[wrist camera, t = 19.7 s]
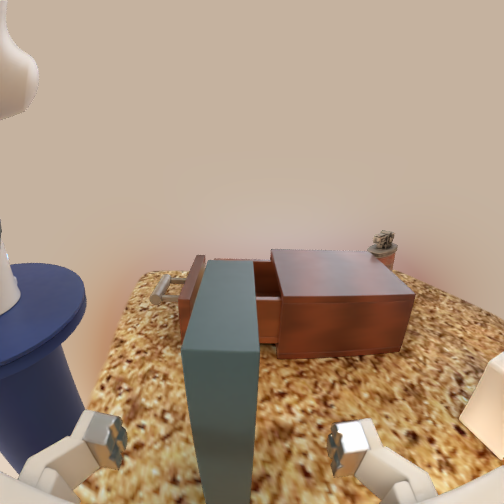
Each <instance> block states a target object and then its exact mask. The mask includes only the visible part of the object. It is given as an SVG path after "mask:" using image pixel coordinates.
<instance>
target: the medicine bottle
mask: <svg viewBox="0 0 504 504" xmlns="http://www.w3.org/2000/svg"><path fill="white" fill-rule="evenodd" d="M459 420H460V421H461V422H462V423H463V424H464V425H465V426H466V427H467V428H468V429H469V430H470V431H471V432H472V433H473V434H474V435H475V436H476V437H477V438H478V439H479V440H481V441H482V442H483V443H484V444H485V445H486V446H487V447H488V448H489V449H490V450H491V451H492V452H493V453H494V454H495V455H496V456H497V457H498V458H499V459H500V460H504V351H503V352H502V353H501V354H499V355H498V356H496V357H495V358H493V359H492V360H490V361H489V362H488V364H487V366H486V369H485V371H484V373H483V375H482V377H481V379H480V381H479V383H478V385H477V387H476V388H475V390H474V392H473V394H472V396H471V398H470V400H469V401H468V403H467V405H466V407H465V408H464V410H463V412H462V414H461V415H460V417H459Z"/></svg>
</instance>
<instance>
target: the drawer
mask: <svg viewBox="0 0 504 504" xmlns="http://www.w3.org/2000/svg"><path fill="white" fill-rule="evenodd" d="M214 260H229V261H253V267H254V280H255V293H256V306H257V319H258V331H259V343H278V340H279V328H280V317H281V305H282V298H281V294H280V290H279V286H278V282H277V277H276V273H275V269H274V265H273V261H272V260H256V259H214ZM204 271H205V255H197V256H196V258H195V260H194V262H193V265H192V267H191V269H190V272H189V274H188V276H187V278H171V276H170V275H168V274H165V275H163V276H162V278H161V279H160V281H159V283H158V284H157V286H156V288H155V289H154V291H153V293H152V294H151V296H150V301H151V303H152V304H154V305H158V304H160V303H161V301H164V302H178V308H179V320H180V331H181V341H182V344H183V340H184V337H185V333H186V330H187V327H188V323H189V320H190V317H191V313H192V310H193V307H194V303H195V300H196V297H197V294H198V290H199V287H200V284H201V281H202V278H203V274H204ZM170 284H184V286H183V288H182V290H181V293H180V295H179V296H178V295H165V293H166V291H167V289H168V287H169V286H170Z"/></svg>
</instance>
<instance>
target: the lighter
mask: <svg viewBox="0 0 504 504" xmlns="http://www.w3.org/2000/svg"><path fill="white" fill-rule="evenodd" d="M393 239H394V232H390V231H384V230H382V231H381V233H379V234H376V235H375V236H374V240H373V243H375V245H372V246H370V247H369V248H368V249H367V251H369V252H370V253H371V254H372V255H374V256H375V257H376V258H377V259H378V260H379V261H380V262H381V263H383V264H384V265H385V266H386V267H387V268H388V269H389V270H390V271H391V272H392V269H393V263H394V258H395V252H396V251H397V245H396V244H394V243H392V241H393Z"/></svg>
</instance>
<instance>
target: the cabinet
mask: <svg viewBox="0 0 504 504" xmlns="http://www.w3.org/2000/svg"><path fill="white" fill-rule="evenodd" d="M270 260H272V261H273V265H274V269H275V273H276V277H277V282H278V286H279V290H280V294H281V298H282V305H281V317H280V328H279V340H278V343H275V345H276V351H277V357H278V359H305V358H328V357H345V356H359V355H371V354H381V353H391V352H399V351H400V348H401V345H402V342H403V339H404V336H405V332H406V329H407V325H408V322H409V318H410V315H411V311H412V307H413V303H414V299H415V295H416V294H415V293H414V292H413V291H412V290H411V289H410V288H409V287H408V286H407V285H406V284H405V283H403V282H402V281H401V280H400V279H399V278H398V277H397V276H396V275H395V274H394V273H393V272H391V271H390V270H389V269H388V268H387V267H386V266H385V265H384V264H383V263H381V262H380V261H379V260H378V259H377V258H376V257H375V256H374V255H372V254H371V253H370V252H369V251H332V250H290V249H271V257H270Z"/></svg>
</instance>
